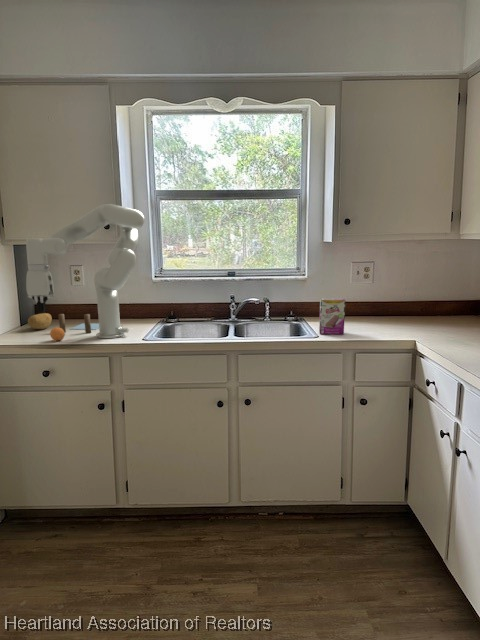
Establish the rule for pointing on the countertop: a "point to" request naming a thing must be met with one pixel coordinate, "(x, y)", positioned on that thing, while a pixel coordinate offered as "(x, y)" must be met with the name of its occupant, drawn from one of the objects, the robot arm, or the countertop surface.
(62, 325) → the left post
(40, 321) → the potato
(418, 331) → the countertop surface
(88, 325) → the right post
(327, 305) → the candy bar box
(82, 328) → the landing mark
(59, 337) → the ball
